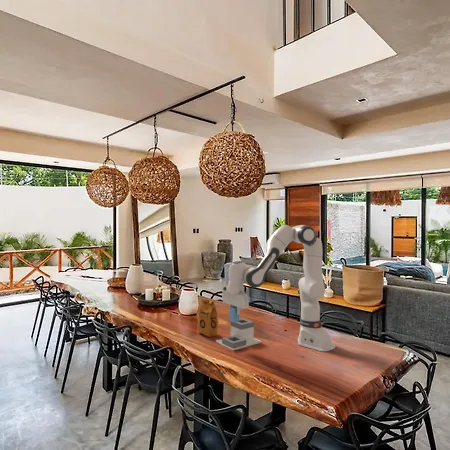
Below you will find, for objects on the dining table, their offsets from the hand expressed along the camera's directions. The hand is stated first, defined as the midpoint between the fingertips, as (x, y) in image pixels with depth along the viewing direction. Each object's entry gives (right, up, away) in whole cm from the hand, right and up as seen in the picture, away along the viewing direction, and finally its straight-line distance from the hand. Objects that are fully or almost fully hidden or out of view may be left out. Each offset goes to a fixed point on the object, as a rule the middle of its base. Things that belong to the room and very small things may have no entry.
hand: (234, 313), depth 198 cm
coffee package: (-16, -19, +19) cm, 31 cm away
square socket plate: (+3, -19, +6) cm, 20 cm away
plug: (0, -5, 0) cm, 5 cm away
